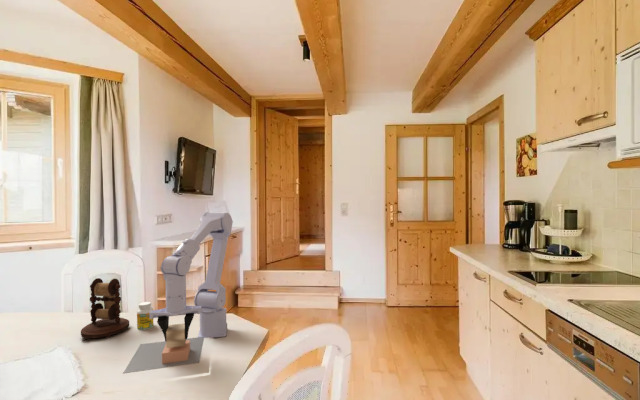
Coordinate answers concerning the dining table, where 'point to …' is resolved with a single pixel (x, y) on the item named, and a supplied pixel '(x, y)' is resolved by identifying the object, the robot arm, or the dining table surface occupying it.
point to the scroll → (105, 310)
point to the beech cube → (175, 335)
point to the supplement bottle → (144, 316)
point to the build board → (155, 356)
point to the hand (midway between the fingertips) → (176, 338)
